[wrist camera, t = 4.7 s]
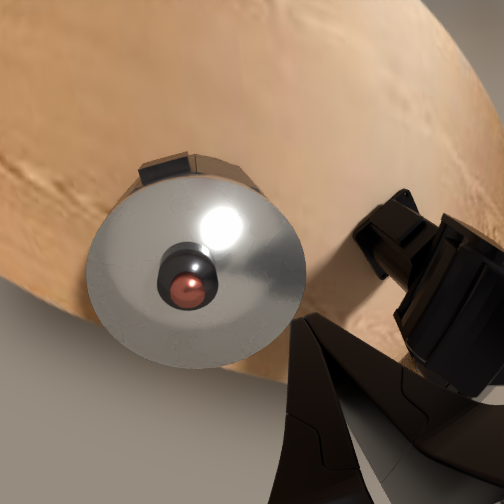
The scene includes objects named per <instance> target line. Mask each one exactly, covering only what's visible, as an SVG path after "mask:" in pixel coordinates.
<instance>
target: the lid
mask: <svg viewBox="0 0 504 504" xmlns="http://www.w3.org/2000/svg"><path fill="white" fill-rule="evenodd" d="M86 282H87V288H88V294H89V297H90V300H91V303H92V306H93V308H94V310H95V312H96V315H97V316H98V318H99V320H100V321H101V323H102V324H103V326H104V327H105V328H106V329H107V331H108V332H109V333H110V334H111V335H112V336H113V337H114V338H115V339H116V340H117V341H119V343H120V344H122V345H123V346H125V347H126V348H127V349H129V350H130V351H132V352H134V353H135V354H137V355H139V356H141V357H143V358H145V359H147V360H150V361H152V362H155V363H159V364H162V365H165V366H170V367H175V368H184V369H205V368H214V367H220V366H224V365H228V364H231V363H235V362H237V361H240V360H243V359H245V358H247V357H249V356H251V355H253V354H255V353H257V352H258V351H260V350H261V349H263V348H264V347H266V346H267V345H269V344H270V343H271V342H272V341H273V340H275V339H276V338H277V337H278V336H279V335H280V334H281V333H282V332H283V331H284V329H285V328H286V327H287V326H288V324H289V323H290V322H291V320H292V318H293V317H294V315H295V313H296V312H297V310H298V307H299V305H300V303H301V300H302V297H303V293H304V289H305V282H306V263H305V257H304V252H303V249H302V246H301V243H300V240H299V238H298V236H297V234H296V232H295V230H294V229H293V227H292V226H291V224H290V223H289V222H288V220H287V219H286V218H285V216H284V215H283V214H282V213H281V212H280V211H279V209H278V208H277V207H276V206H275V205H274V204H272V203H271V202H270V201H269V200H268V199H267V198H266V197H264V196H263V195H262V194H260V193H259V192H258V191H256V190H254V189H252V188H250V187H249V186H247V185H245V184H243V183H240V182H237V181H235V180H232V179H229V178H225V177H220V176H216V175H208V174H183V175H176V176H171V177H166V178H163V179H160V180H157V181H154V182H151V183H149V184H147V185H145V186H143V187H141V188H139V189H138V190H136V191H134V192H133V193H131V194H130V195H129V196H127V197H126V198H125V199H123V200H122V201H121V202H120V203H119V204H118V205H117V206H116V207H115V208H114V209H113V210H112V212H111V213H110V214H109V216H108V217H107V218H106V220H105V221H104V222H103V224H102V225H101V227H100V228H99V230H98V232H97V234H96V236H95V238H94V240H93V242H92V244H91V248H90V251H89V254H88V260H87V266H86Z"/></svg>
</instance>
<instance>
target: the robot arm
mask: <svg viewBox="0 0 504 504" xmlns="http://www.w3.org/2000/svg"><path fill="white" fill-rule="evenodd" d="M405 193H406V195H405ZM404 195H405V196H404ZM441 220H442V221H441V223H440V226H439V227H438V226H436V225H435V224H433V223H432V222H430V221H429V220H427V219H425V218H424V217H423V216H421V215H420V214H419V211H418V209H417V206H416V204H415V202H414V199H413V197H412V195H411V193H410V191H409V190H407V189H405V188H404V189H402V190H401V191H400V192H398V193H397V194H396V195H395V196H394V197H393V198H392V199H391V200H390V201H389V202H388V203H386V204H385V205H384V206H383V207H382V208H381V209H380V210H379V211H378V212H376V213H375V214H374V215H373V216H372V217H371V218H370V219H368V220H367V221H366V222H365V223H364V224H363V225H362V226H361V227H359V228H358V229H357V230H356V231H355V232H354V234H353V239H354V240H355V242H356V243H357V245H358V246H359V248H360V249H361V251H362V252H363V254H364V256H365V257H366V259H367V260H368V262H369V263H370V265H371V267H372V268H373V270H374V271H375V273H376V275H377V276H378V278H379V279H380V280H384V279H386V278H387V277H388V276H390V277H391V278H392V279H393V280H394V281H395V282H396V283H397V284H398V285H399V286H400V287H401V288H402V289H403V290H404V291H405V292H406V295H405V297H404V299H403V301H402V302H401V304H400V306H399V308H398V309H396V310H395V312H394V314H393V316H394V318H395V321H396V323H397V325H398V327H399V330H400V332H401V334H402V337H403V339H404V342H405V344H406V347H407V349H408V351H409V352H410V354H411V356H412V357H413V358H414V359H416V360H417V361H418V362H419V363H420V364H422V365H423V366H424V367H425V368H426V369H428V370H431V371H433V372H435V373H437V374H438V375H440V376H441V377H443V378H444V379H446V380H447V381H448V382H449V383H450V384H452V385H453V386H454V387H455V388H456V389H457V390H458V391H459V392H460V393H461V394H462V395H460V394H458V393H456V392H453V391H451V390H449V389H446V388H444V387H442V386H440V385H438V384H435V383H433V382H431V381H429V380H427V379H425V378H424V377H422V376H420V375H418V374H416V373H415V372H413V371H411V370H410V369H408V368H406V367H405V366H404V367H403V366H402V365H401V364H400V363H398V362H396V361H395V360H393V359H391V358H390V357H388V356H387V355H385V354H383V353H382V352H380V351H378V350H377V349H375V348H373V347H372V346H370V345H369V344H367V343H365V342H364V341H362V340H361V339H359V338H357V337H356V336H354V335H352V334H351V333H349V332H348V331H346V330H344V329H343V328H341V327H340V326H338V325H336V324H335V323H333V322H332V321H330V320H328V319H327V318H325V317H324V316H322V315H320V314H319V313H316V312H315V313H312V314H309V315H306V316H305V317H304V318H303V317H300V318H297V319H294V320H291V322H290V342H289V367H288V388H287V405H286V414H287V415H286V418H285V431H284V439H283V446H282V451H281V456H280V460H279V465H278V468H277V472H276V476H275V480H274V483H273V487H272V491H271V494H270V498H269V501H268V504H374V502H373V500H372V498H371V496H370V494H369V492H368V490H367V487H366V485H365V482H364V479H363V476H362V473H361V470H360V466H359V463H358V459H357V456H356V453H355V450H354V447H353V443H352V440H351V437H350V434H349V430H348V427H347V424H348V426H349V428H350V429H351V431H352V433H353V435H354V437H355V438H356V440H357V442H358V444H359V446H360V447H361V449H362V451H363V453H364V455H365V457H366V459H367V460H368V462H369V464H370V466H371V468H372V469H373V471H374V473H375V475H376V477H377V478H378V480H379V482H380V483H381V486H382V488H383V489H384V491H385V492H386V495H387V497H388V498H389V500H390V502H391V504H504V405H488V404H483V403H480V402H477V401H475V400H472V399H470V398H467V397H465V396H469V397H473V398H476V397H478V396H479V395H480V394H481V393H482V392H483V391H484V389H485V388H486V387H487V386H504V249H503V248H502V247H501V246H500V245H498V244H497V243H496V242H495V241H493V240H492V239H491V238H489V237H488V236H486V235H484V234H483V233H481V232H480V231H478V230H476V229H475V228H473V227H471V226H469V225H467V224H465V223H463V222H461V221H459V220H457V219H455V218H453V217H451V216H449V215H447V214H445V213H443V215H442V218H441ZM360 234H361V235H360ZM359 235H360V237H358V236H359ZM382 274H383V275H382ZM463 395H465V396H463ZM346 422H347V424H346Z"/></svg>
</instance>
